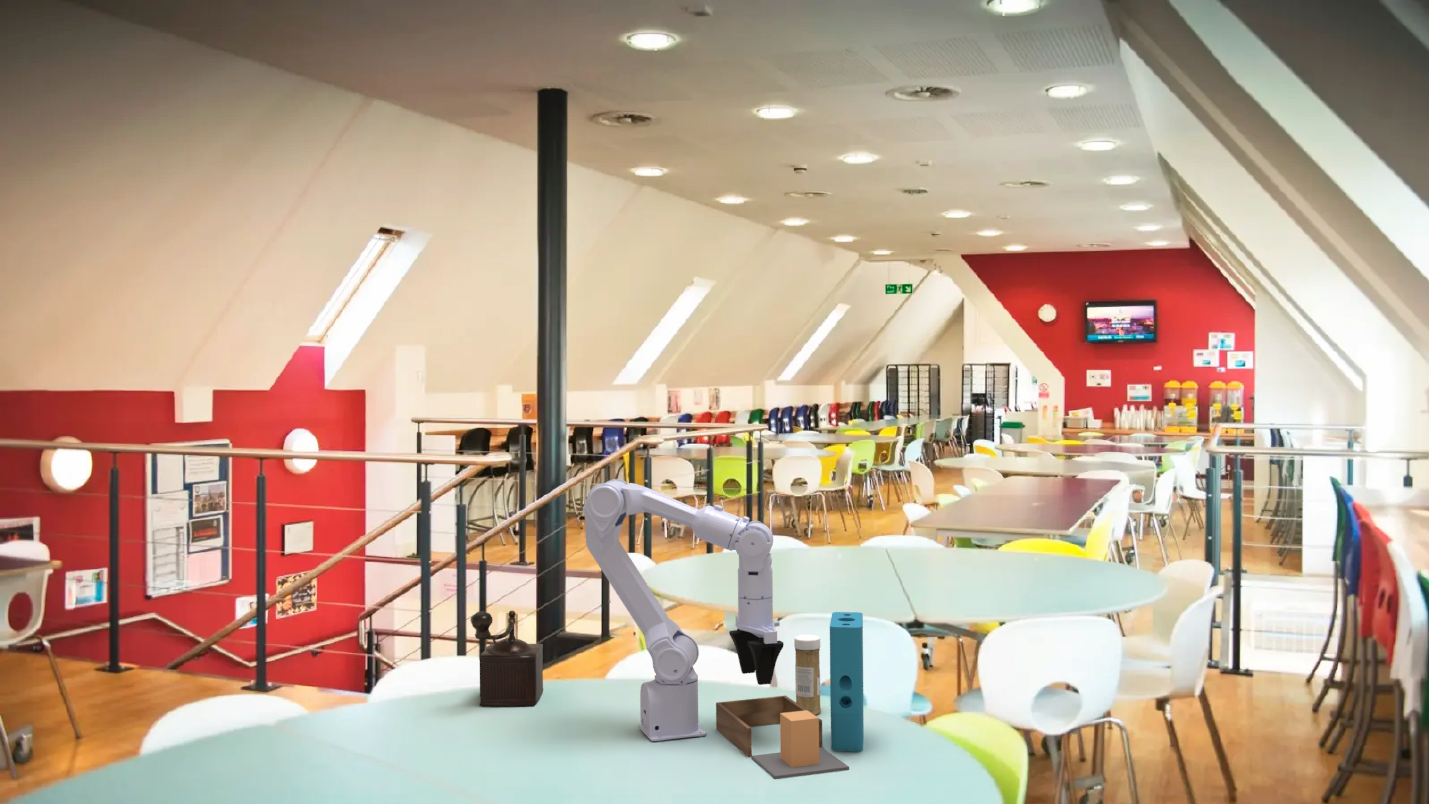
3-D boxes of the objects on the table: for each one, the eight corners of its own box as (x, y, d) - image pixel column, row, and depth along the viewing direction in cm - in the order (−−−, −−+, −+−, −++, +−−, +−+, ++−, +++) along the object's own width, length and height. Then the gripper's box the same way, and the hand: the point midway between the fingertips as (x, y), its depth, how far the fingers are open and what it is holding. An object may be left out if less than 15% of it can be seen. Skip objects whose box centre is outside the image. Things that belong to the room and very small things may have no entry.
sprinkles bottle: (826, 712, 206) (825, 636, 206) (809, 717, 203) (808, 640, 203) (806, 707, 210) (806, 632, 209) (789, 712, 207) (788, 636, 206)
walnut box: (747, 757, 182) (747, 728, 182) (716, 729, 197) (715, 702, 197) (822, 748, 186) (822, 720, 186) (785, 721, 201) (785, 695, 201)
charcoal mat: (774, 778, 172) (774, 776, 172) (751, 758, 182) (751, 755, 182) (849, 769, 176) (849, 766, 176) (822, 749, 186) (822, 747, 186)
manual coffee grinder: (486, 692, 223) (485, 598, 222) (544, 691, 222) (543, 597, 222) (468, 715, 207) (467, 614, 207) (531, 715, 207) (529, 613, 207)
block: (862, 755, 183) (861, 627, 182) (830, 754, 183) (829, 627, 183) (863, 732, 195) (862, 612, 194) (833, 731, 195) (832, 611, 195)
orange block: (791, 767, 176) (791, 721, 176) (780, 758, 180) (780, 713, 180) (819, 764, 178) (818, 718, 177) (807, 755, 182) (807, 710, 182)
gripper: (794, 602, 188) (795, 686, 188) (762, 587, 202) (763, 666, 202) (753, 605, 186) (754, 690, 186) (723, 590, 199) (724, 669, 200)
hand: (756, 678), depth 194 cm, fingers open, 7 cm apart
